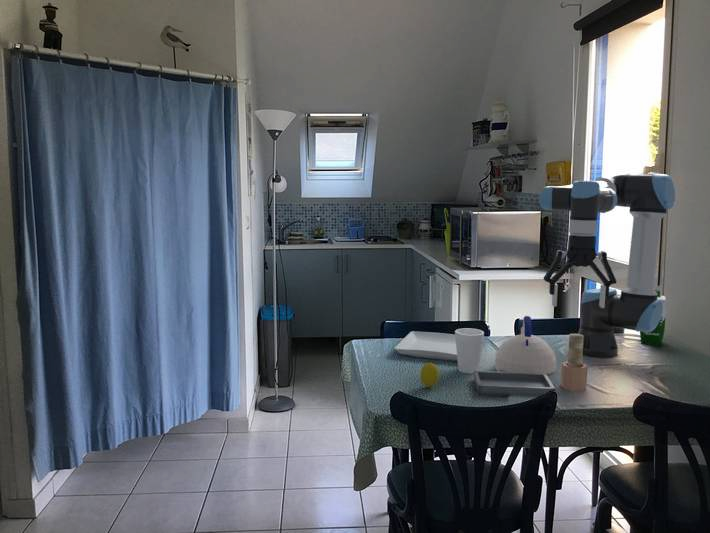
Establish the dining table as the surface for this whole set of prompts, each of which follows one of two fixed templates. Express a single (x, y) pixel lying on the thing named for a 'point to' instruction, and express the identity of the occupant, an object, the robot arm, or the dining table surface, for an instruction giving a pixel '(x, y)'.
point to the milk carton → (658, 332)
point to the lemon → (429, 374)
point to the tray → (511, 383)
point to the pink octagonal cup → (574, 377)
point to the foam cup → (468, 349)
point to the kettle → (525, 353)
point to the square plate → (429, 345)
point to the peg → (575, 350)
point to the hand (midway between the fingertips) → (577, 306)
